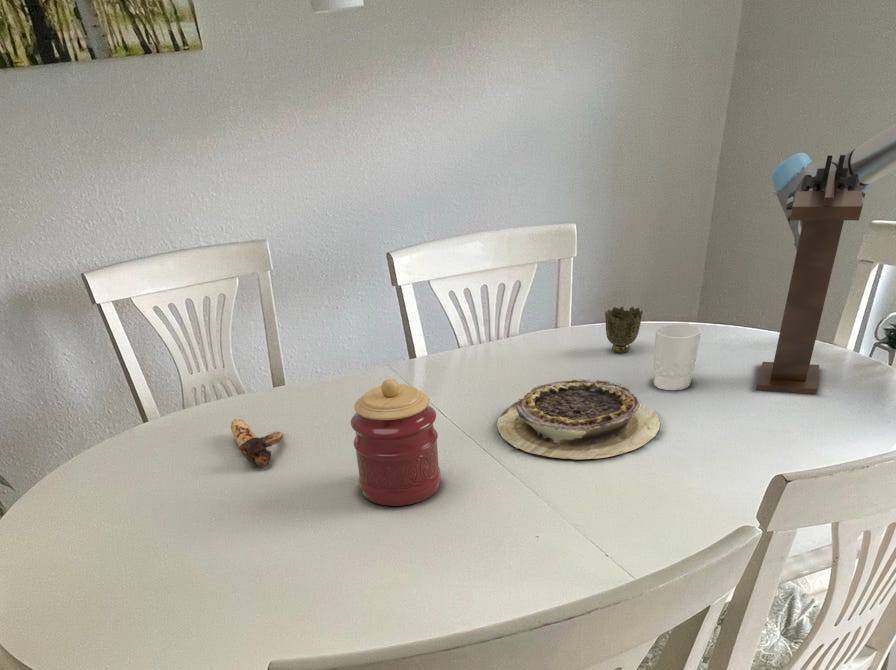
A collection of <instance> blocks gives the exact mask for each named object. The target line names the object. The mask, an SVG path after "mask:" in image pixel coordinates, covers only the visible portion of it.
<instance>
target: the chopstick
mask: <svg viewBox="0 0 896 670" xmlns="http://www.w3.org/2000/svg"><path fill="white" fill-rule="evenodd" d="M835 174H836V171H829V175H828V179H827V182H826V188H825V195H824V202H823V206H831V205H832V201H833V196H834V186H835Z"/></svg>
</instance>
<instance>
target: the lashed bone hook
mask: <svg viewBox="0 0 896 670" xmlns="http://www.w3.org/2000/svg"><path fill="white" fill-rule="evenodd" d="M230 431H231V433H232V435H233V438H234V440H235V442H236V444H237V445H238V449H239V451H241V452H242V453H243V454H244V455H245V456H246V457H247V459H248V460H250V461H251V462H253V463H254V464H255V465H256V466H258V467H261V468H263V467H267V466H268V465H270V461H271V456H272V451H271V450H268V449H267V448H268V447H269V448H270V447H272V446H273V445H276V444H278V443H279V442H280V441H281V440H282V438H283V433H282V432H280V431H274V432H273V433H272V434H268V435H265V436H262V437H257V435H256V434H255V433H254V431H253V430H252V429H251V427H250V426H249V424H247V423H246V422H245V421H244V420H243V419H241V418H235V419H233V420H232V421H231V424H230Z"/></svg>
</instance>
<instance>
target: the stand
mask: <svg viewBox="0 0 896 670" xmlns="http://www.w3.org/2000/svg"><path fill="white" fill-rule="evenodd" d="M824 195H825V191H797V192H796V195H795V199H794V203H793V206H792V211H791V216H790V220H803V224H802V229H801V234H800V238H799V243H798V248H797V251H796V253H795V258H794V261H793V262H794V263H793V267H792V272H791V277H790V281H789V287H788V291H787V296H786V302H785V306H784V311H783V315H782V320H781V325H780V331H779V336H778V340H777V345H776V349H775V354H774V359H773V361H762V362H761V367H760V371H759V375H758V379H757V383H756V384H757V385H756V388H755V390H756V391H763V392H765V391H766V392H777V393H791V394H805V395H806V394H807V395H817V391H818V384H819V373H820V372H819V371H820V364H811V361H812V357H813V353H814V349H815V344H816V339H817V336H818V331H819V328H820V323H821V319H822V314H823V312H824V311H823V310H824V307H825V302H826V297H827V294H828V290H829V285H830V282H831V281H830V280H831V277H832V273H833V269H834V264H835V260H836V256H837V252H838V247H839V243H840V239H841V236H842V231H843V227H844V223H845V221H860V218H861V214H862V210H863V207H862V191H834V196H833V201H832V205H831V206H823V202H824Z"/></svg>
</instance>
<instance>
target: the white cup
mask: <svg viewBox="0 0 896 670" xmlns="http://www.w3.org/2000/svg"><path fill="white" fill-rule="evenodd" d="M701 335H702V328H700V327H699V326H697V325H694V324H690V323H668V324H663V325H661V326H658V327H657V328H656V330H655V340H654V341H655V342H654V358H653V381H652V382H653V385H654V387H655V388H658V389H660V390H665V391H680V390H684V389H687V388H689V387H690V385H691V384H692V379H693V372H694V369H695V365H696V361H697V356H698V352H699V351H698V350H699V345H700V339H701Z"/></svg>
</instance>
